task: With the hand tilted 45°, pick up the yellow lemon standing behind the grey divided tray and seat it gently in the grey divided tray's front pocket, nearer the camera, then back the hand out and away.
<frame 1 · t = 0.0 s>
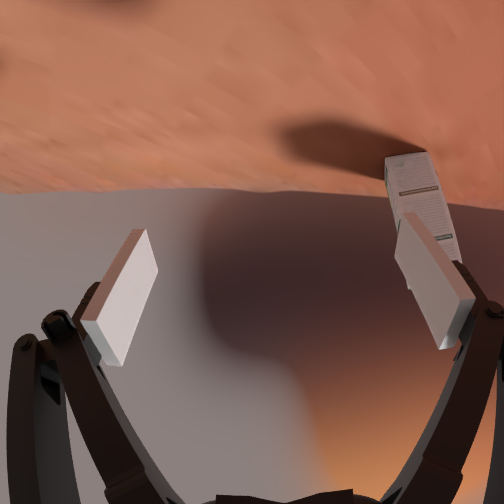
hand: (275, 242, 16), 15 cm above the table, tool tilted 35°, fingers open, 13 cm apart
syrup box: (405, 164, 35), on the table
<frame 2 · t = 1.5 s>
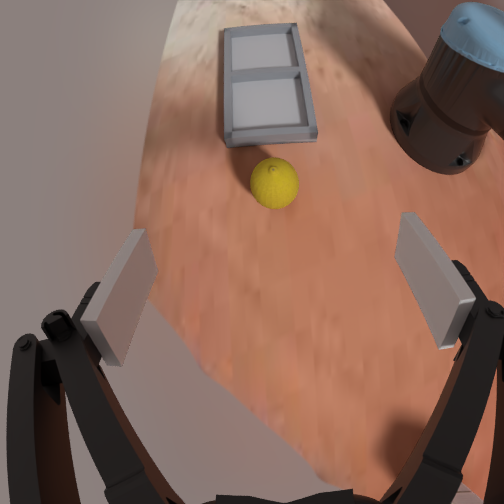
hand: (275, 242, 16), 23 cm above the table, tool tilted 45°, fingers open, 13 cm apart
syrup box: (435, 492, 31), on the table
lemon: (275, 196, 41), on the table
grey divided tray: (266, 81, 44), on the table
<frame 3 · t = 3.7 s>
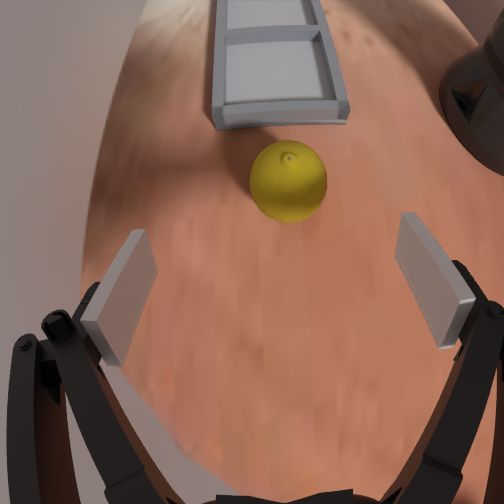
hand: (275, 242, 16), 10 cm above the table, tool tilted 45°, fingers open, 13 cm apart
lemon: (287, 202, 27), on the table
grey divided tray: (272, 44, 30), on the table
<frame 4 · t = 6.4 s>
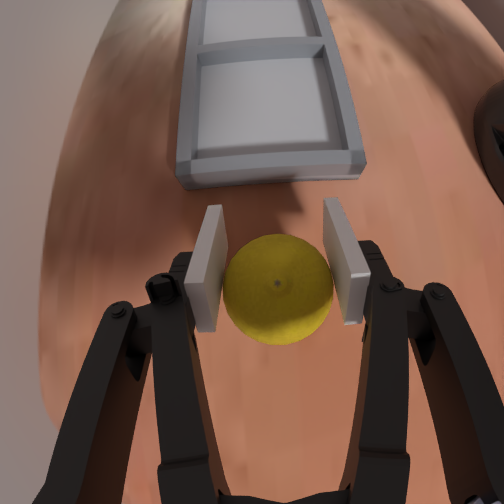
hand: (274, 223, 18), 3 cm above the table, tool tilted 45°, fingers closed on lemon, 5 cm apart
lemon: (278, 295, 20), on the table, touching gripper
grey divided tray: (262, 62, 24), on the table
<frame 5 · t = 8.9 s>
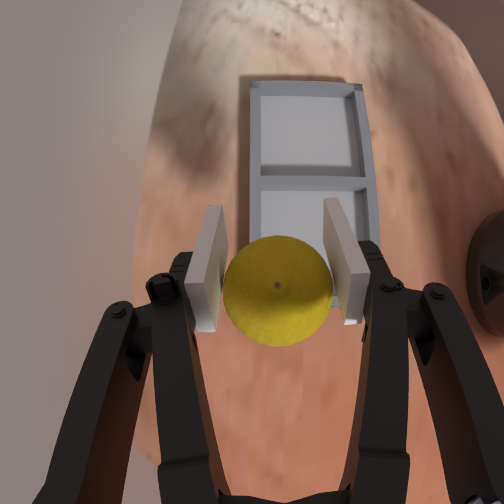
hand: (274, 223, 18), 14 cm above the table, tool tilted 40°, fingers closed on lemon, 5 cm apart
lemon: (278, 296, 20), point 10 cm above the table, touching gripper
grey divided tray: (311, 188, 32), on the table
when the fingers open (6 cm above the table, at t = 11.9 s): lemon drops 2 cm, resting on grey divided tray.
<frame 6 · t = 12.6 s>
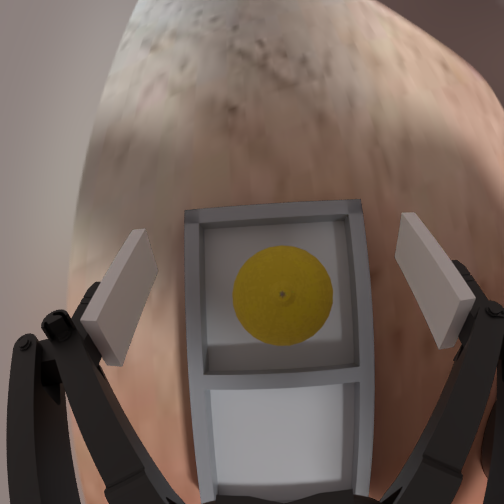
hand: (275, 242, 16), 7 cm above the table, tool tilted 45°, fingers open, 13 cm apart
lemon: (282, 297, 22), point 1 cm above the table, touching grey divided tray
grey divided tray: (281, 373, 22), on the table
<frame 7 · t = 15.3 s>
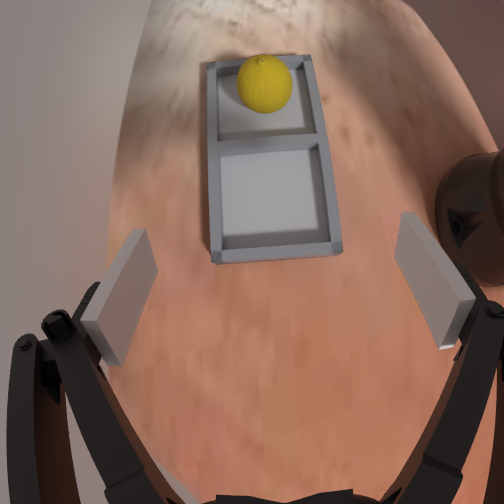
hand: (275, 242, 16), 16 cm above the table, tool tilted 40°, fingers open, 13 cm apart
lemon: (266, 106, 33), point 1 cm above the table, touching grey divided tray
grey divided tray: (268, 151, 33), on the table
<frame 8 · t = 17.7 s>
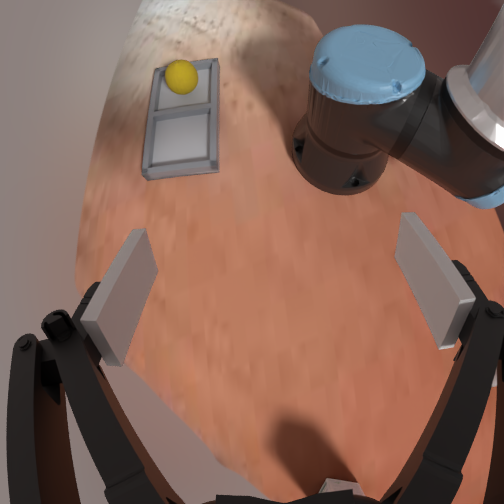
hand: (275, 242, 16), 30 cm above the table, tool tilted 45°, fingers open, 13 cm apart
syrup box: (336, 492, 38), on the table
lemon: (187, 91, 52), point 1 cm above the table, touching grey divided tray
grey divided tray: (185, 117, 52), on the table
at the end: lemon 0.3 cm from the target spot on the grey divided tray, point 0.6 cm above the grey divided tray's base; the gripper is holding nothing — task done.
